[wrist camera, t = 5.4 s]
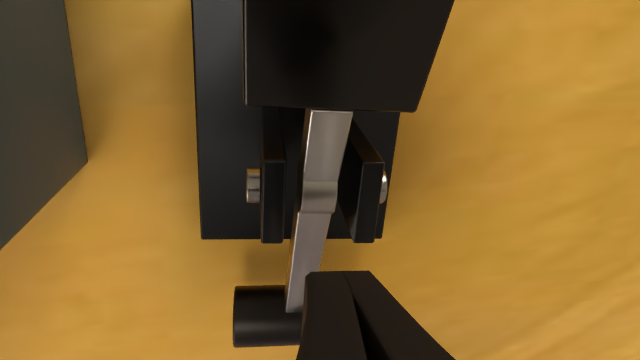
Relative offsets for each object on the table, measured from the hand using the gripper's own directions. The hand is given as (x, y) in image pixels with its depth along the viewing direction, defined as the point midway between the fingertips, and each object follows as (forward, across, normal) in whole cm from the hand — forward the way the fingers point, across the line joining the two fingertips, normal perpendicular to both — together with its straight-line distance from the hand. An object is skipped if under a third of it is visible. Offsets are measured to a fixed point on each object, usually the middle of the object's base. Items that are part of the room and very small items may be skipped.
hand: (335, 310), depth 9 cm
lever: (+6, 0, 0) cm, 6 cm away
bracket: (+10, 0, -1) cm, 11 cm away
